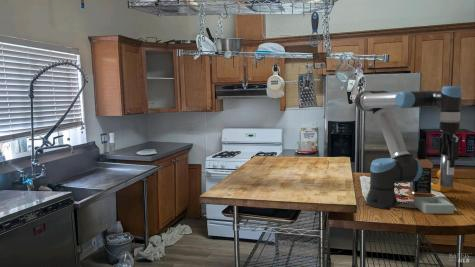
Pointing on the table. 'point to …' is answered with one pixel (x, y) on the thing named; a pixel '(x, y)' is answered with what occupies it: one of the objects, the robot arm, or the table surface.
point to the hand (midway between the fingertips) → (446, 173)
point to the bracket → (438, 186)
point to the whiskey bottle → (424, 182)
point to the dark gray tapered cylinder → (445, 173)
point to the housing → (433, 205)
